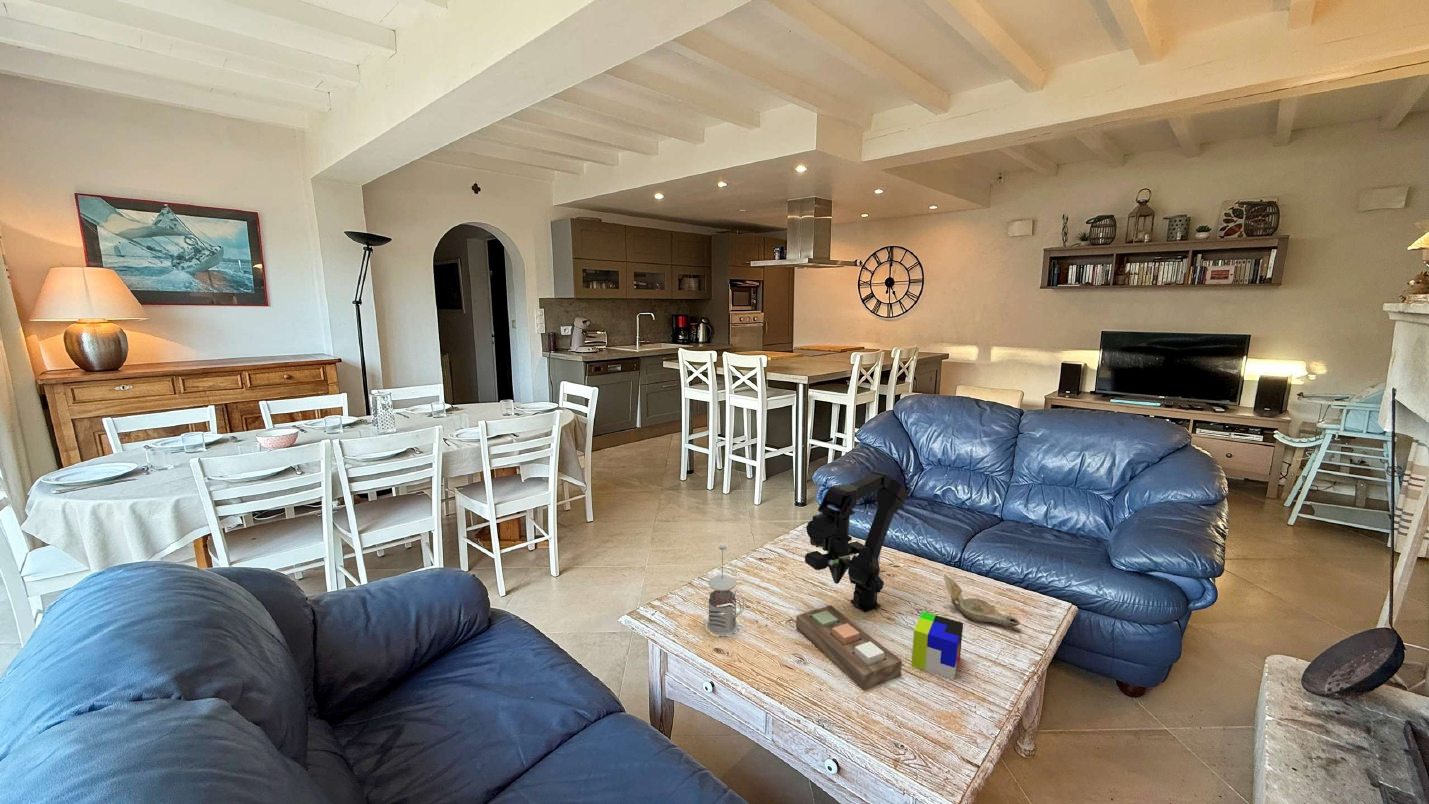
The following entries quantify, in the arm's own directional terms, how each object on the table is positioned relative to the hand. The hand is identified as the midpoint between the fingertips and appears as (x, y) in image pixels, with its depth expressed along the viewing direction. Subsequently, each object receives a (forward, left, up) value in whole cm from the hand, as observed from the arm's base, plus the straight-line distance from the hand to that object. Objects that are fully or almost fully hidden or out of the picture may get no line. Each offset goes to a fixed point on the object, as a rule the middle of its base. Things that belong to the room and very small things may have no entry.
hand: (836, 583), depth 158 cm
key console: (+6, +12, -12) cm, 18 cm away
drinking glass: (-29, -18, -12) cm, 36 cm away
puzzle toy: (-12, +26, -12) cm, 31 cm away
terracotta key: (+6, +12, -9) cm, 16 cm away
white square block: (+6, +21, -9) cm, 24 cm away
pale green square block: (+6, +3, -10) cm, 12 cm away
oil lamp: (-39, +17, -12) cm, 44 cm away
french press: (+30, -11, -12) cm, 34 cm away
